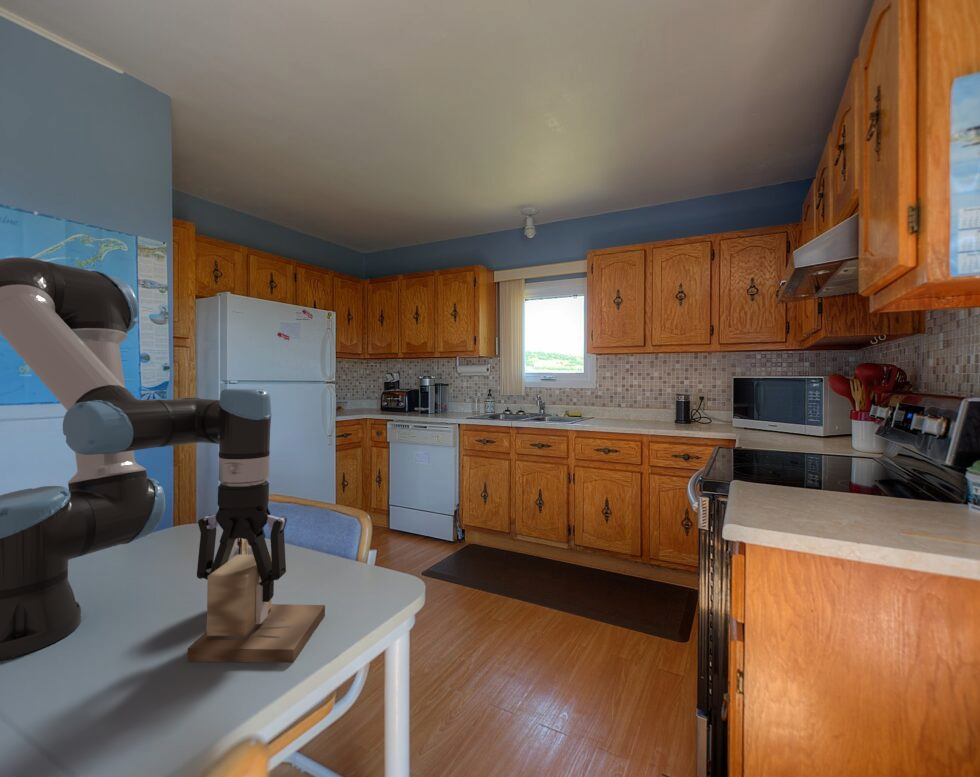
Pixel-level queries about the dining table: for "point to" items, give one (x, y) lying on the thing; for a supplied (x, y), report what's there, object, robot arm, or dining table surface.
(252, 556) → the block
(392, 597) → the dining table surface
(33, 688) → the dining table surface
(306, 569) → the dining table surface
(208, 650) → the board
